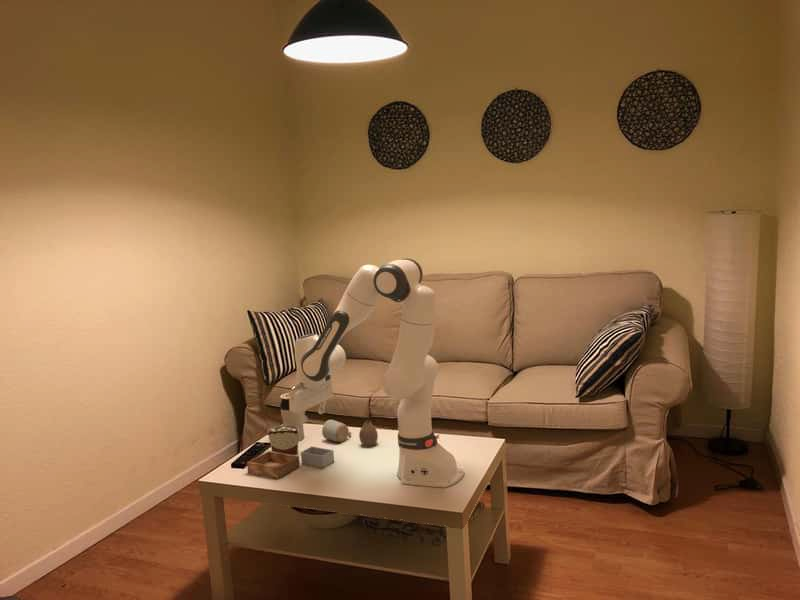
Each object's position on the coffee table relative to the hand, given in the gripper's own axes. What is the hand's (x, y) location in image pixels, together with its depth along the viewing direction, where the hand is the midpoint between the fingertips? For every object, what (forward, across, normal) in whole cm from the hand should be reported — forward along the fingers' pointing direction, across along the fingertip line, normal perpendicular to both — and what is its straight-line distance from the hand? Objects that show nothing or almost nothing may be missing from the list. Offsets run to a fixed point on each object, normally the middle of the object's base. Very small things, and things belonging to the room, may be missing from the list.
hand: (313, 417), depth 243 cm
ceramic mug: (+17, +23, +7) cm, 29 cm away
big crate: (+17, -11, +11) cm, 23 cm away
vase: (+17, +22, -8) cm, 29 cm away
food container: (+17, +4, +18) cm, 25 cm away
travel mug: (+17, +16, +24) cm, 34 cm away
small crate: (+17, 0, 0) cm, 17 cm away
